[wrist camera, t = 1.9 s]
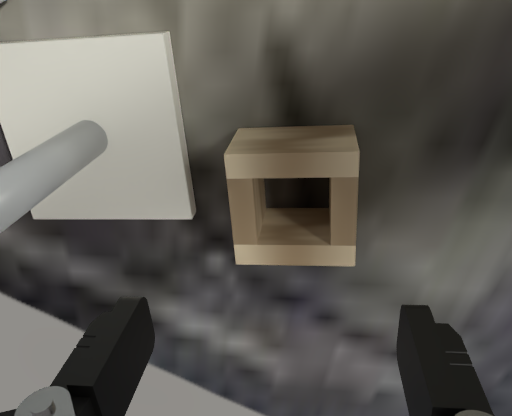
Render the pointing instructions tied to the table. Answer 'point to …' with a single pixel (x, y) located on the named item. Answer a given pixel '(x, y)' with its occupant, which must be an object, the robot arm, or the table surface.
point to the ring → (293, 219)
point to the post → (93, 130)
